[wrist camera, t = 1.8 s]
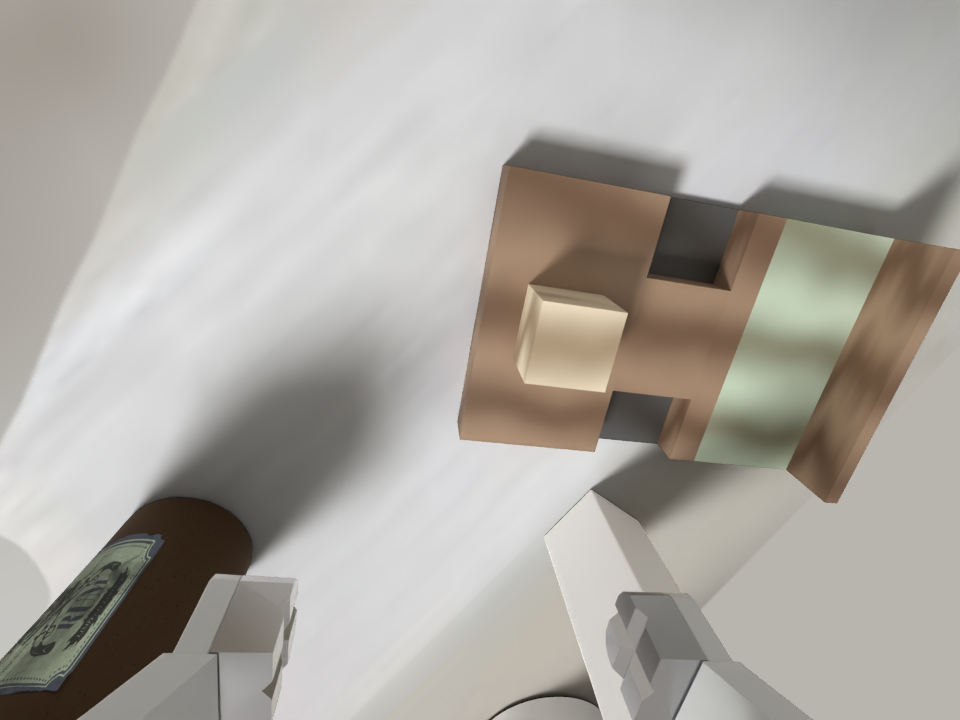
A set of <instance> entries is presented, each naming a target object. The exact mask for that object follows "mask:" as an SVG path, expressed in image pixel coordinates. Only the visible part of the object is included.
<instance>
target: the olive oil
mask: <svg viewBox="0 0 960 720" xmlns="http://www.w3.org/2000/svg"><path fill="white" fill-rule="evenodd" d="M251 557H252V543H251V539H250V537H249V534H248V532H247V530H246V529H245V527H244V526H243V525H242V523H241V522H240V521H239V520H238V519H237V518H236V517H234V516H233V515H232V514H231V513H229V512H228V511H226V510H225V509H223V508H221V507H219V506H217V505H215V504H212V503H209V502H206V501H202V500H198V499H192V498H169V499H163V500H159V501H155V502H153V503H150V504H148V505H146V506H144V507H142V508H141V509H139V510H138V511H137V512H135V513H134V514H133V515H132V516H131V517H130V518H129V519H128V520H127V521H126V522H125V524H124V525H123V526H122V527H121V528H120V529H119V530H118V531H117V533H116V534H115V535H114V536H113V537H112V538H111V539H110V541H109V542H108V543H107V544H106V545H105V546H104V547H103V549H102V550H101V551H100V552H99V553H98V554H97V555H96V556H95V557H94V558H93V560H92V561H91V562H90V563H89V564H88V565H87V566H86V567H85V568H84V569H83V571H82V572H81V573H80V574H79V575H78V576H77V577H76V578H75V580H74V581H73V582H72V583H71V584H70V585H69V586H68V587H67V588H66V589H65V591H64V592H63V593H62V594H61V595H60V596H59V597H58V598H57V599H56V600H55V601H54V603H53V604H52V605H51V606H50V607H49V608H48V609H47V610H46V611H45V612H44V614H43V615H42V616H41V617H40V618H39V619H38V620H37V621H36V622H35V623H34V624H33V626H32V627H31V628H30V629H29V630H28V631H27V632H26V633H25V634H24V635H23V636H22V638H21V639H20V640H19V641H18V642H17V643H16V644H15V645H14V646H13V647H12V648H11V649H10V651H9V652H8V653H7V654H6V655H5V656H4V657H3V658H2V659H1V660H0V720H77V719H78V718H80V717H81V716H82V715H84V714H85V713H86V712H88V711H89V710H90V709H91V708H93V707H94V706H95V705H97V704H98V703H99V702H101V701H102V700H103V699H104V698H106V697H107V696H108V695H110V694H111V693H112V692H114V691H115V690H116V689H117V688H119V687H120V686H121V685H123V684H124V683H125V682H127V681H128V680H129V679H130V678H132V677H133V676H134V675H136V674H137V673H138V672H140V671H141V670H142V669H144V668H145V667H146V666H147V665H149V664H150V663H151V662H153V661H154V660H155V659H157V658H158V657H159V656H160V655H162V654H163V653H173V651H174V649H175V647H176V645H177V644H178V642H179V640H180V638H181V636H182V634H183V632H184V630H185V628H186V626H187V624H188V622H189V620H190V618H191V616H192V614H193V612H194V610H195V608H196V606H197V604H198V602H199V600H200V598H201V596H202V594H203V592H204V590H205V588H206V586H207V584H208V582H209V581H210V579H211V578H212V577H213V576H214V575H215V574H227V575H243V576H244V575H246V573H247V570H248V567H249V565H250V561H251Z"/></svg>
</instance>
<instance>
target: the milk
mask: <svg viewBox="0 0 960 720" xmlns="http://www.w3.org/2000/svg"><path fill="white" fill-rule="evenodd" d="M544 539H545V542H546V545H547V548H548V551H549V554H550V557H551V560H552V564H553V567H554V570H555V573H556V576H557V579H558V582H559V585H560V588H561V591H562V594H563V597H564V600H565V604H566V607H567V610H568V613H569V616H570V619H571V622H572V625H573V628H574V631H575V634H576V637H577V640H578V643H579V647H580V650H581V653H582V656H583V659H584V662H585V665H586V668H587V671H588V674H589V677H590V680H591V683H592V686H593V690H594V693H595V696H596V699H597V702H598V705H599V708H600V711H601V714H602V717H603V720H632V719H631V716H630V713H629V711H628V708H627V706H626V703H625V700H624V698H623V695H622V693H621V690H620V688H621V684H622V681H623V678H622V677H621V676H620V675H619V674H618V673H617V672H616V671H615V670H614V669H613V668H612V666H611V663H610V661H609V658H608V654H607V649H606V629H607V626H608V622H609V619H611V618H612V617H613V616H614V615H616V614H617V613H618V610H617V608H616V605H615V603H616V600H617V598H618V595H620V594H621V593H622V592H623V591H626V592H661V593H681V591H680V589H679V588H678V586H677V584H676V583H675V581H674V579H673V578H672V576H671V574H670V573H669V571H668V569H667V568H666V566H665V564H664V563H663V561H662V559H661V558H660V556H659V554H658V553H657V551H656V549H655V548H654V546H653V544H652V543H651V541H650V539H649V538H648V536H647V534H646V533H645V531H644V530H643V528H642V526H641V525H640V523H639V522H638V521H637V520H636V519H634V518H633V517H631V516H630V515H628V514H627V513H625V512H624V511H622V510H621V509H619V508H618V507H616V506H615V505H613V504H612V503H611V502H609V501H608V500H606V499H605V498H603V497H602V496H600V495H599V494H597V493H596V492H594V491H593V490H590V491H589V492H588V493H587V494H586V495H585V496H584V497H583V498H582V499H581V500H580V501H579V502H578V503H577V504H576V505H575V506H574V507H573V508H572V509H571V510H570V511H569V512H568V513H567V514H566V515H565V516H564V517H563V518H562V519H561V520H560V521H559V522H558V523H557V524H556V525H555V526H554V527H553V528H552V529H551V530H550V531H549V532H548V533H547V534H546V535H545V536H544Z"/></svg>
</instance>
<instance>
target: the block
mask: <svg viewBox="0 0 960 720" xmlns="http://www.w3.org/2000/svg"><path fill="white" fill-rule="evenodd" d="M627 315H628V313H627V312H626V311H625V310H623V309H622V308H621V307H619V306H618V305H616V304H615V303H614V302H612V301H611V300H610V299H608V298H607V297H606V296H604V295H599V294H593V293H586V292H579V291H573V290H566V289H559V288H553V287H546V286H539V285H533V284H528V288H527V293H526V298H525V302H524V307H523V312H522V317H521V321H520V326H519V331H518V335H517V340H516V345H515V350H514V354H513V360H514V362H515V364H516V366H517V368H518V370H519V372H520V375H521V377H522V379H523V381H524V383H526V384H534V385H543V386H552V387H561V388H569V389H578V390H587V391H596V392H604V393H605V391H606V387H607V384H608V380H609V377H610V373H611V370H612V367H613V363H614V360H615V356H616V353H617V350H618V346H619V343H620V339H621V336H622V332H623V329H624V326H625V322H626V319H627Z"/></svg>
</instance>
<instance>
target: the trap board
mask: <svg viewBox="0 0 960 720" xmlns="http://www.w3.org/2000/svg"><path fill="white" fill-rule="evenodd" d="M959 272H960V250H959V249H953V248H947V247H941V246H935V245H929V244H923V243H917V242H911V241H904V240H898V239H892V238H887V237H882V236H877V235H871V234H866V233H861V232H856V231H850V230H845V229H840V228H835V227H829V226H824V225H819V224H814V223H808V222H803V221H798V220H793V219H787V218H782V217H777V216H772V215H766V214H761V213H755V212H748V211H742V210H736V209H731V208H726V207H720V206H715V205H710V204H705V203H699V202H694V201H689V200H683V199H678V198H673V197H671V196H667V195H661V194H656V193H651V192H646V191H640V190H635V189H630V188H625V187H619V186H614V185H609V184H604V183H598V182H593V181H588V180H583V179H577V178H572V177H567V176H562V175H556V174H551V173H546V172H541V171H535V170H530V169H525V168H520V167H514V166H507V165H503V167H502V173H501V178H500V184H499V190H498V195H497V201H496V207H495V212H494V218H493V224H492V229H491V235H490V241H489V246H488V252H487V258H486V263H485V269H484V275H483V280H482V286H481V291H480V297H479V303H478V308H477V314H476V320H475V325H474V331H473V337H472V342H471V348H470V354H469V359H468V365H467V371H466V376H465V382H464V388H463V393H462V399H461V405H460V410H459V416H458V429H459V437H460V439H461V440H471V441H482V442H493V443H504V444H515V445H525V446H536V447H547V448H558V449H569V450H580V451H590V452H595V449H596V446H597V442H598V439H599V438H602V439H612V440H622V441H633V442H643V443H653V444H658V445H659V447H660V448H661V449H662V450H663V451H664V453H665V454H666V455H667V456H668V457H669V459H677V460H688V461H699V462H709V463H720V464H731V465H742V466H753V467H763V468H774V469H785V470H787V471H788V472H789V473H791V474H792V475H793V476H794V477H795V478H797V479H798V480H799V481H800V482H801V483H802V484H804V485H805V486H806V487H807V488H808V489H810V490H811V491H812V492H813V493H814V494H815V495H817V496H818V497H819V498H820V499H822V500H823V501H824V502H826V503H837V502H838V500H839V498H840V497H841V494H842V493H843V491H844V489H845V487H846V485H847V483H848V481H849V480H850V478H851V476H852V474H853V472H854V470H855V468H856V466H857V464H858V463H859V461H860V459H861V457H862V455H863V453H864V451H865V449H866V447H867V446H868V444H869V442H870V440H871V438H872V436H873V434H874V432H875V430H876V429H877V427H878V425H879V423H880V421H881V419H882V417H883V415H884V413H885V412H886V410H887V408H888V406H889V404H890V402H891V400H892V398H893V396H894V395H895V393H896V391H897V389H898V387H899V385H900V383H901V381H902V379H903V378H904V376H905V374H906V372H907V370H908V368H909V366H910V364H911V362H912V361H913V359H914V357H915V355H916V353H917V351H918V349H919V347H920V345H921V344H922V342H923V340H924V338H925V336H926V334H927V332H928V330H929V328H930V327H931V325H932V323H933V321H934V319H935V317H936V315H937V313H938V311H939V310H940V308H941V306H942V304H943V302H944V300H945V298H946V296H947V294H948V293H949V291H950V289H951V287H952V285H953V283H954V281H955V279H956V277H957V276H958V274H959ZM528 284H533V285H539V286H546V287H553V288H559V289H566V290H573V291H579V292H586V293H593V294H599V295H604V296H606V297H607V298H608V299H610V300H611V301H612V302H614V303H615V304H616V305H618V306H619V307H621V308H622V309H623V310H625V311H626V312H627V313H628V315H627V319H626V322H625V326H624V329H623V332H622V336H621V339H620V343H619V346H618V350H617V353H616V356H615V360H614V363H613V367H612V370H611V373H610V377H609V380H608V384H607V387H606V391H605V393H604V392H596V391H587V390H578V389H569V388H561V387H552V386H543V385H534V384H526V383H524V381H523V379H522V377H521V375H520V372H519V370H518V368H517V366H516V364H515V362H514V360H513V354H514V350H515V345H516V340H517V335H518V331H519V326H520V321H521V317H522V312H523V307H524V302H525V298H526V293H527V288H528Z"/></svg>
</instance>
